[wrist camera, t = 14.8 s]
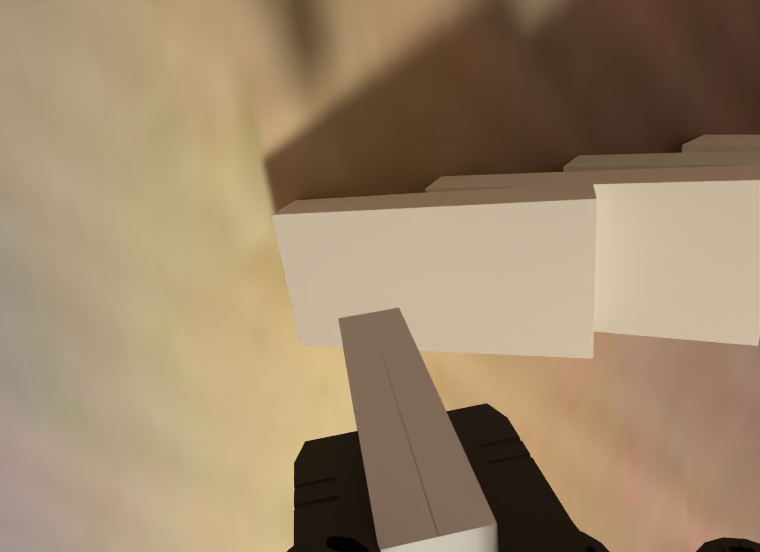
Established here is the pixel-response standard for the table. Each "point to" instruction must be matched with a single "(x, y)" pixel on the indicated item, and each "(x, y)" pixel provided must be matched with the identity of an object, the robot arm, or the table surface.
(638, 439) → the table surface
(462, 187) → the domino
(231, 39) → the table surface
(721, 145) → the domino
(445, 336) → the domino
